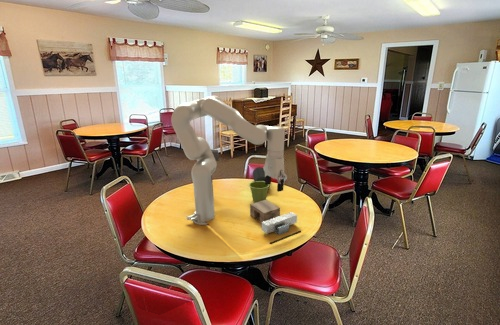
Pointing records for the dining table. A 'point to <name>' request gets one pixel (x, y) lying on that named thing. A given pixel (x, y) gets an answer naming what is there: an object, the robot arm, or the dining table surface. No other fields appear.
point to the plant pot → (259, 190)
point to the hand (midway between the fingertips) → (273, 187)
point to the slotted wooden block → (264, 211)
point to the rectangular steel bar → (279, 222)
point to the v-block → (282, 230)
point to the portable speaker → (259, 174)
